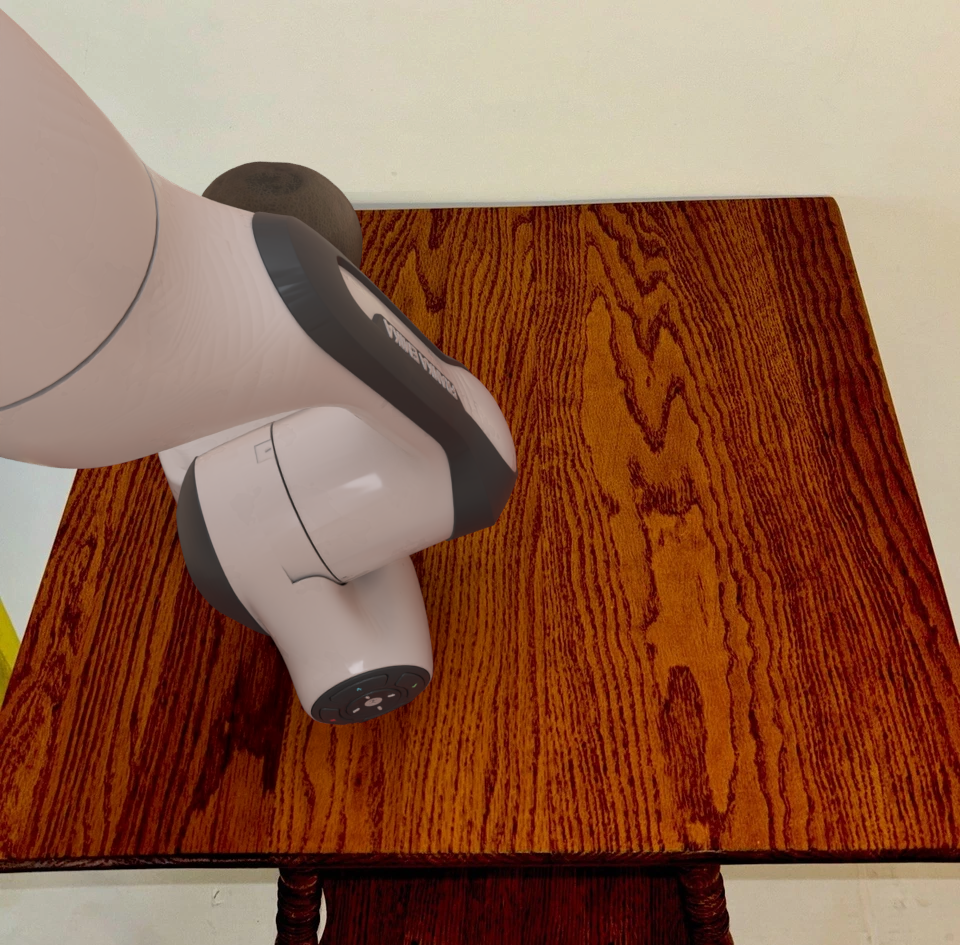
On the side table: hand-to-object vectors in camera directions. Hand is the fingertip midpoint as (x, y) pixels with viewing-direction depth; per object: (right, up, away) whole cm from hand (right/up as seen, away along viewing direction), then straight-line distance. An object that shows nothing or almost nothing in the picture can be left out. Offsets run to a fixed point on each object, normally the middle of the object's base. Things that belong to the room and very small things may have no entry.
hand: (290, 369), depth 78 cm
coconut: (-2, +4, +13) cm, 14 cm away
